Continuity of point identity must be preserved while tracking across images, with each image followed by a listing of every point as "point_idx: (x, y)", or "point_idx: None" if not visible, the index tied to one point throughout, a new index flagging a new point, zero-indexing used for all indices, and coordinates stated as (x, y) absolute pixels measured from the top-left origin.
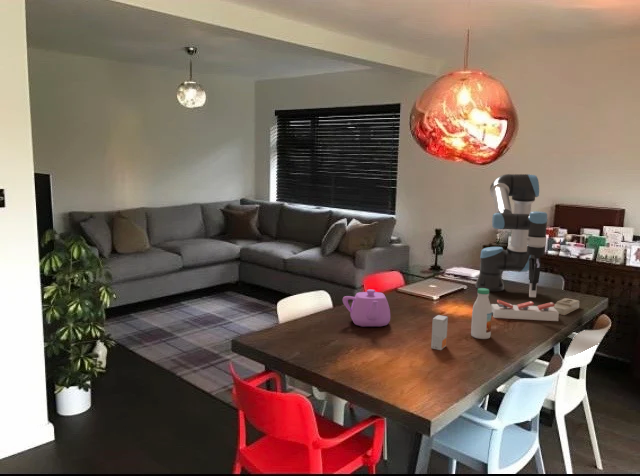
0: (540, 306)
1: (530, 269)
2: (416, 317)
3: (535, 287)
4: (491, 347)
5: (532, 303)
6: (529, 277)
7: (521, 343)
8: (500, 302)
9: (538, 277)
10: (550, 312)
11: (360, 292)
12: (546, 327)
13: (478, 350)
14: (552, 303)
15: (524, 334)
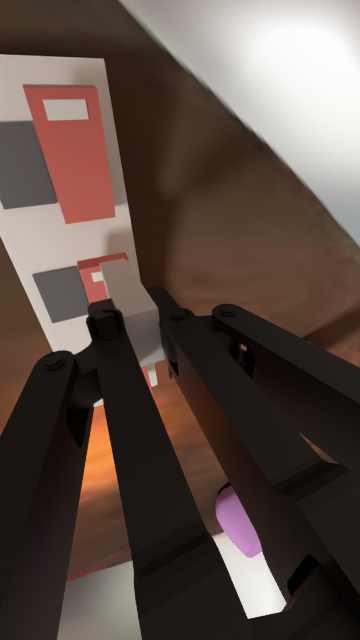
0: (96, 205)
1: (64, 556)
2: (196, 471)
3: (171, 300)
4: (345, 328)
5: (128, 264)
6: (90, 419)
7: (339, 276)
8: (152, 391)
9: (292, 341)
10: (116, 135)
11: (251, 556)
12: (219, 184)
13: (352, 343)
14: (79, 101)
15: (287, 269)
